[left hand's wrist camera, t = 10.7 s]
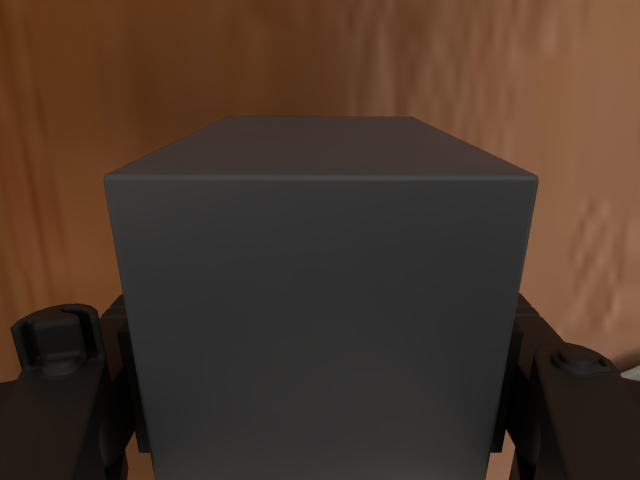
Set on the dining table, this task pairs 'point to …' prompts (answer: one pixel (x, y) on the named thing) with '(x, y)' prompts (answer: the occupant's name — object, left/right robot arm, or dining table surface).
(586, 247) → the dining table surface
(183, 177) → the bar
